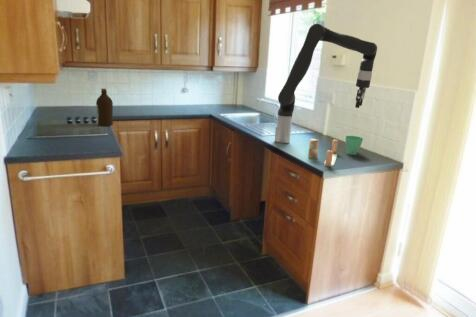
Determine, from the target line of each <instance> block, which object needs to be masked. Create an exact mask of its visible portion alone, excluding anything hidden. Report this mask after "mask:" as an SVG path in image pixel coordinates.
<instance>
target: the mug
mask: <svg viewBox="0 0 476 317" xmlns="http://www.w3.org/2000/svg"><path fill="white" fill-rule="evenodd" d="M363 141H364V138H363V137H361V136H356V135H346V136H345V148H346V149H345V150H346V153H347V155H349V156H355V155H357V154H358V152H359V150H360V147H361V146H362V143H363Z"/></svg>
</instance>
